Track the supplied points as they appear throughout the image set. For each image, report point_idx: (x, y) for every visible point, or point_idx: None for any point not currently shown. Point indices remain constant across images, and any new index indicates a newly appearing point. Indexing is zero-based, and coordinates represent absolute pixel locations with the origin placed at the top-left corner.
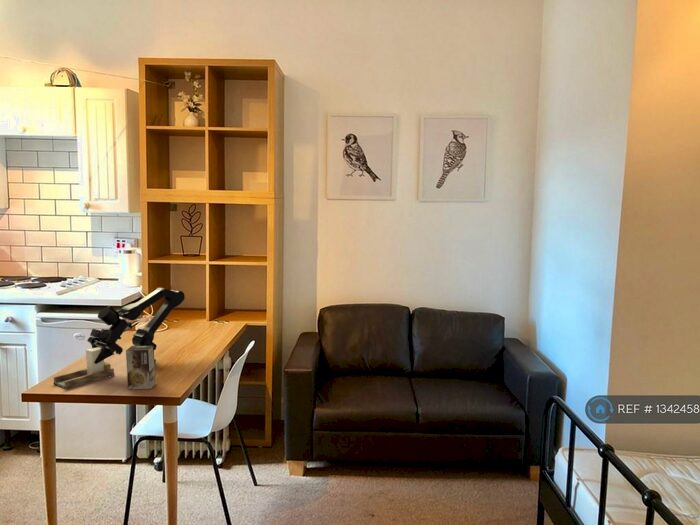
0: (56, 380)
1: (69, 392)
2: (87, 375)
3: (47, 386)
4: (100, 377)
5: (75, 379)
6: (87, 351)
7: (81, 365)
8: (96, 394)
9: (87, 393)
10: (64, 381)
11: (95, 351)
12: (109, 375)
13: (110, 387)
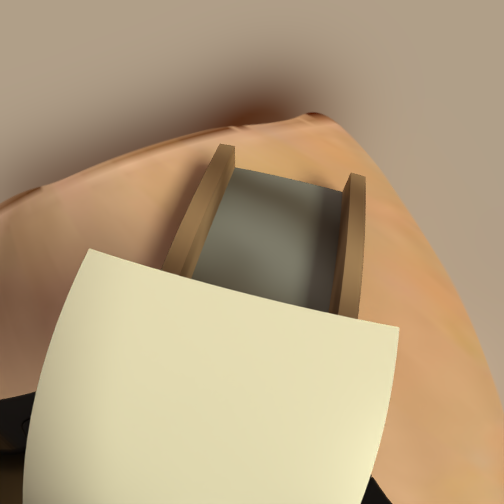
0: (344, 193)
1: (172, 157)
2: (170, 266)
3: (346, 176)
4: None
5: (198, 187)
6: (309, 322)
7: (482, 477)
8: (52, 186)
9: (88, 178)
10: (234, 147)
11: (63, 357)
12: None
13: (28, 266)
